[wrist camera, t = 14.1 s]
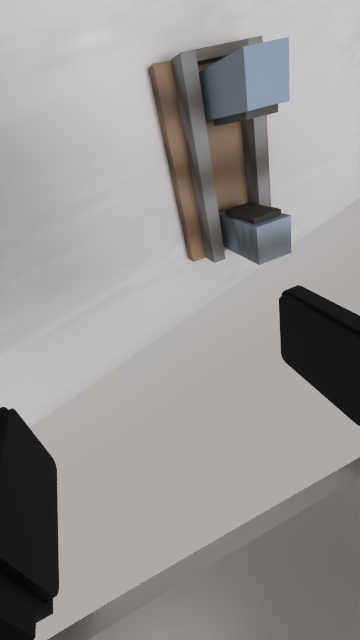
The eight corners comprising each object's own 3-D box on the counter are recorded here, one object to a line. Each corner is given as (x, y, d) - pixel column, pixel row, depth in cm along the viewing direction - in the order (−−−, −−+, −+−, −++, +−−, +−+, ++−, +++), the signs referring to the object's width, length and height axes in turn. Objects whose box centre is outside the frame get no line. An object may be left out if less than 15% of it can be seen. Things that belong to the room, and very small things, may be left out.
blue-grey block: (194, 74, 29) (243, 46, 22) (230, 66, 30) (288, 37, 23) (202, 128, 32) (248, 119, 24) (235, 120, 33) (289, 109, 25)
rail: (148, 68, 29) (189, 30, 20) (254, 45, 31) (331, 2, 23) (188, 258, 40) (227, 286, 31) (265, 230, 42) (321, 249, 34)
